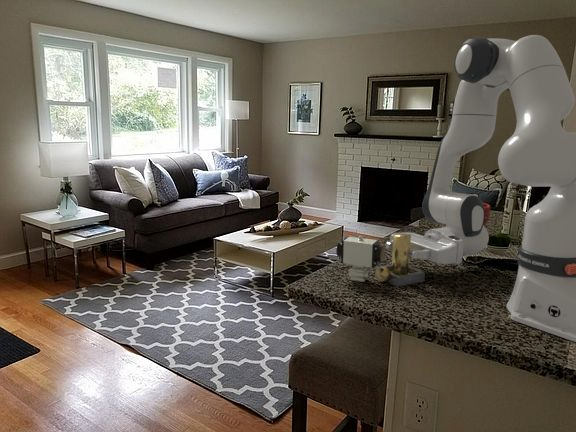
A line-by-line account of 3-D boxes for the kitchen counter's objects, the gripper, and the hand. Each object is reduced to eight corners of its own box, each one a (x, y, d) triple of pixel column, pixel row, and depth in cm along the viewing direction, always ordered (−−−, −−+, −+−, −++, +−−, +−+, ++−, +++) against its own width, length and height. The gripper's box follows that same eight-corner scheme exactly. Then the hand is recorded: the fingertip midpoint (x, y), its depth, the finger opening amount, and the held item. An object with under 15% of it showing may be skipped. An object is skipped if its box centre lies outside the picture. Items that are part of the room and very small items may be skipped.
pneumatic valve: (378, 286, 113) (380, 240, 111) (335, 279, 118) (336, 235, 116) (384, 279, 118) (386, 236, 115) (342, 273, 123) (343, 231, 121)
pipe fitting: (413, 280, 118) (416, 236, 115) (398, 283, 115) (400, 238, 113) (400, 274, 122) (403, 232, 120) (385, 277, 120) (387, 233, 117)
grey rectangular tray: (424, 281, 117) (425, 267, 116) (390, 287, 112) (391, 273, 111) (401, 271, 125) (402, 258, 124) (369, 277, 120) (369, 263, 119)
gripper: (413, 225, 131) (375, 230, 125) (468, 241, 113) (426, 248, 107) (412, 246, 132) (374, 251, 127) (466, 265, 114) (424, 273, 109)
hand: (398, 250), depth 117 cm, fingers open, 8 cm apart
